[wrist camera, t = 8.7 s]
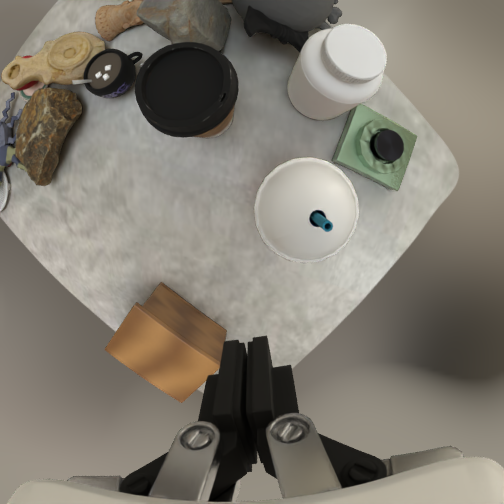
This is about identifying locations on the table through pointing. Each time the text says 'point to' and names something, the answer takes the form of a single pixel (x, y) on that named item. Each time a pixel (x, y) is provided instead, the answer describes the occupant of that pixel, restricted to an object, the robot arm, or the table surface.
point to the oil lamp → (55, 61)
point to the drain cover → (7, 187)
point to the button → (387, 145)
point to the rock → (45, 131)
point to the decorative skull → (287, 18)
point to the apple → (30, 87)
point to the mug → (110, 73)
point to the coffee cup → (187, 90)
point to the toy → (8, 140)
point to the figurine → (120, 18)
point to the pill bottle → (336, 71)
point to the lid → (160, 354)
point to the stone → (187, 20)
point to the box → (186, 320)
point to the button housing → (360, 151)
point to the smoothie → (306, 210)
